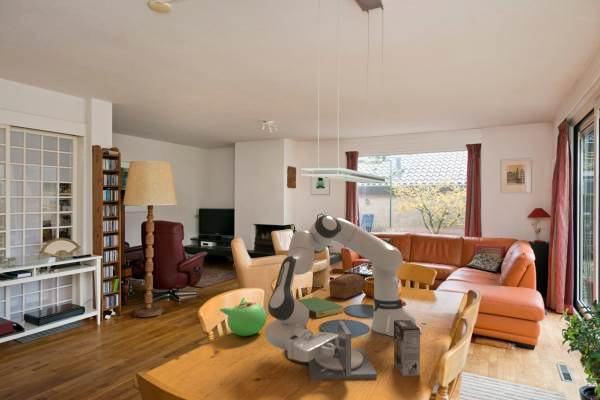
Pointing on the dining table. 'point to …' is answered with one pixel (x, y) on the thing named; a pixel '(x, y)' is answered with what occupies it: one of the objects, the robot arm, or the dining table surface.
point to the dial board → (358, 373)
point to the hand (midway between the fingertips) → (336, 351)
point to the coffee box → (407, 347)
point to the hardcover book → (321, 307)
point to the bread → (346, 286)
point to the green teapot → (245, 318)
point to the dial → (342, 354)
